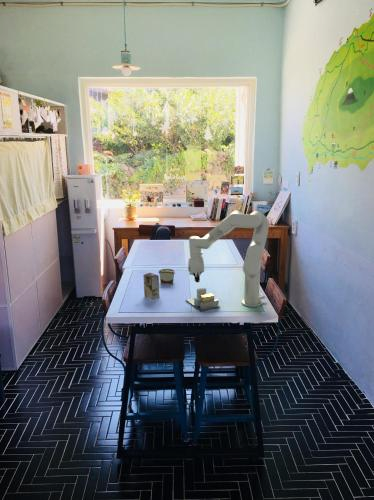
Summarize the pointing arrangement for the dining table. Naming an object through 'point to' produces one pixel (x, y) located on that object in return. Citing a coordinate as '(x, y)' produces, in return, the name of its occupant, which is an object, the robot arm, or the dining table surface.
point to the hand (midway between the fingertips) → (197, 281)
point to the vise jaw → (199, 292)
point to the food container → (166, 276)
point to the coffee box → (151, 286)
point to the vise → (204, 304)
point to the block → (206, 297)
